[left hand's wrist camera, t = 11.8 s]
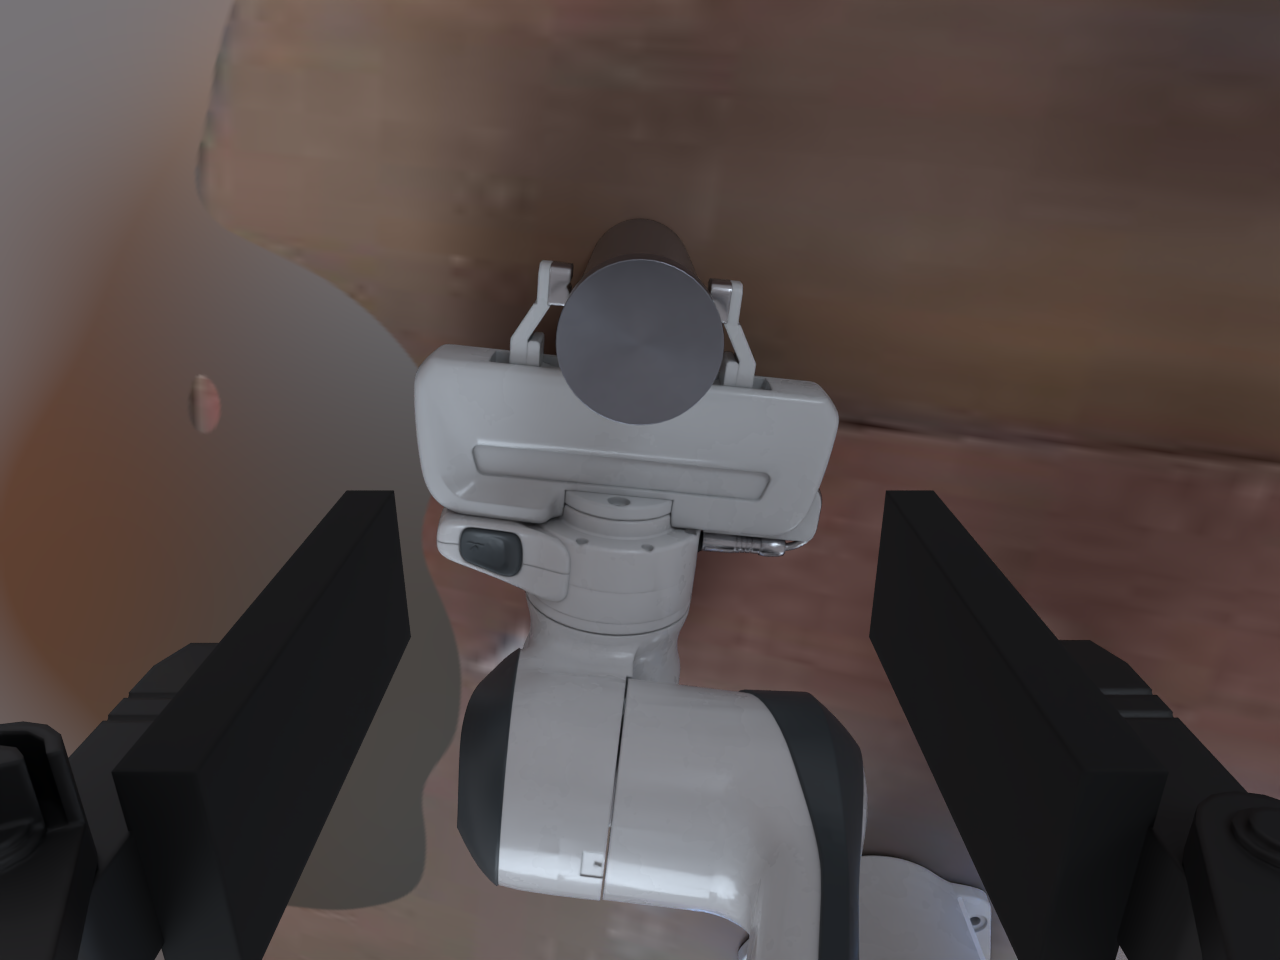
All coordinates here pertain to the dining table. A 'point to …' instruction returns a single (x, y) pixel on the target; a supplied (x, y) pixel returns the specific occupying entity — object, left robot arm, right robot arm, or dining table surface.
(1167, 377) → the dining table surface
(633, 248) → the jar
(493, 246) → the dining table surface
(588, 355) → the lid
